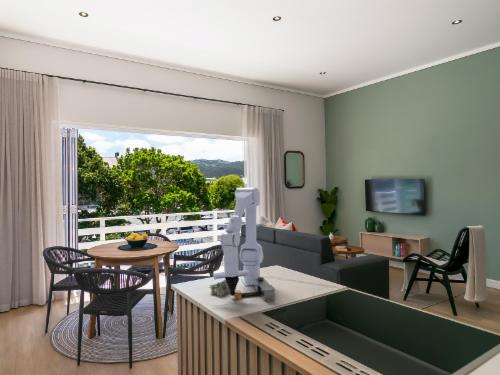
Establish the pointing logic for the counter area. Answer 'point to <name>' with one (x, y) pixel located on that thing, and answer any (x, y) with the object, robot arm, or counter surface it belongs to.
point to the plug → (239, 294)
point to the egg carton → (220, 288)
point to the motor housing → (264, 289)
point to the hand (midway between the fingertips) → (232, 295)
